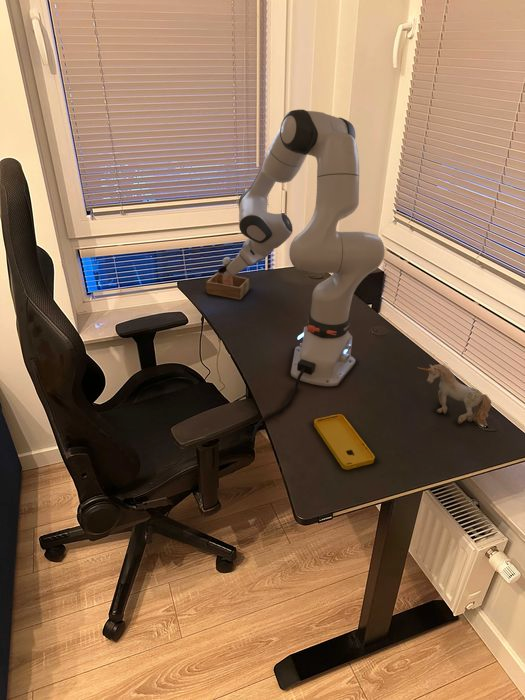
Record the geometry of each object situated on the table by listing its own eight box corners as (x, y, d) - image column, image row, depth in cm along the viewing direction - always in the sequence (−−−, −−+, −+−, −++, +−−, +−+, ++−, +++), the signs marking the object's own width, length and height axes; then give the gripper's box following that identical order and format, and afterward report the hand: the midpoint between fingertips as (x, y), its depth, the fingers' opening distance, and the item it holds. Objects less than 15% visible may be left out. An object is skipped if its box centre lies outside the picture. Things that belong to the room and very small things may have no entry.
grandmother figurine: (236, 286, 192) (237, 255, 186) (237, 291, 189) (237, 259, 182) (216, 286, 192) (216, 255, 185) (216, 290, 189) (216, 259, 182)
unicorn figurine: (413, 395, 138) (423, 354, 131) (488, 417, 131) (502, 375, 124) (407, 409, 132) (417, 367, 125) (484, 433, 125) (500, 390, 118)
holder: (240, 299, 184) (240, 288, 182) (206, 293, 188) (206, 282, 185) (249, 289, 192) (249, 278, 190) (216, 283, 196) (216, 272, 193)
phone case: (341, 417, 129) (341, 413, 128) (375, 462, 115) (376, 458, 114) (312, 423, 126) (312, 419, 125) (344, 470, 113) (344, 466, 112)
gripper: (260, 233, 185) (235, 254, 193) (239, 251, 168) (213, 273, 176) (271, 246, 186) (246, 266, 194) (251, 265, 170) (225, 287, 177)
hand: (230, 270), depth 185 cm, fingers open, 8 cm apart
